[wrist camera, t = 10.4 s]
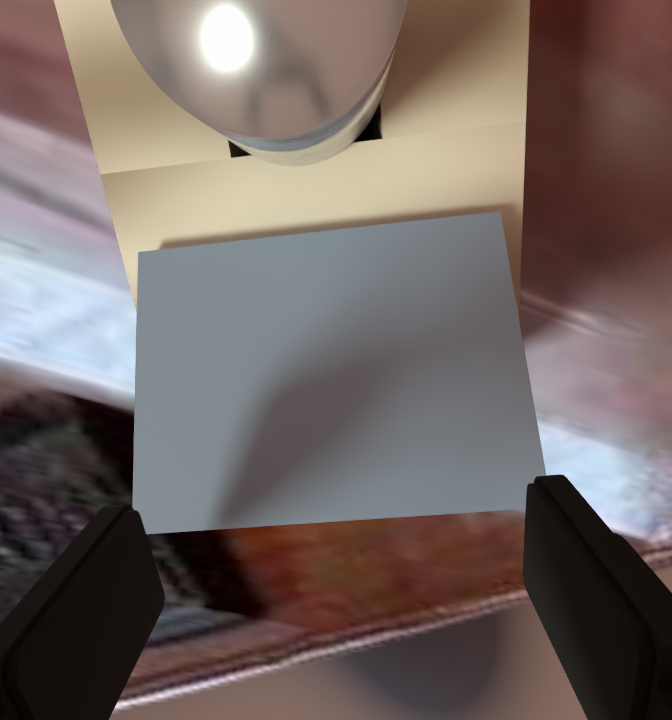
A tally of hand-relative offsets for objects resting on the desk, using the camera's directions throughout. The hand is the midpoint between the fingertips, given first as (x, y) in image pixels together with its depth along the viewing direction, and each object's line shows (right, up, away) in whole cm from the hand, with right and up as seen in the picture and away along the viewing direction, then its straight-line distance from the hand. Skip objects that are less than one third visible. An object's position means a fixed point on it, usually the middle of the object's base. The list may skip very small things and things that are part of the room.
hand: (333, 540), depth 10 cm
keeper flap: (0, +4, +3) cm, 5 cm away
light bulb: (-1, +15, +8) cm, 17 cm away
